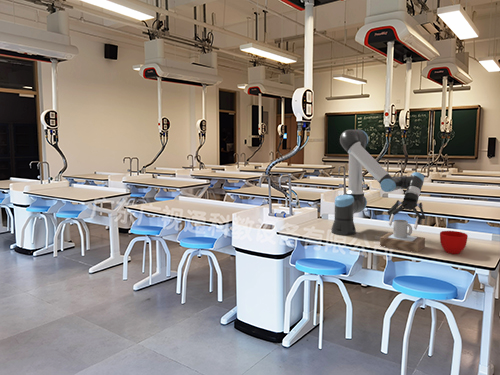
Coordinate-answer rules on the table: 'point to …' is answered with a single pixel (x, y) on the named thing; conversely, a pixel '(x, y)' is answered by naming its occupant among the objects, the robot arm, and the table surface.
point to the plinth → (403, 242)
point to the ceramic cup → (453, 241)
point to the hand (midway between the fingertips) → (402, 226)
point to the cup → (401, 229)
